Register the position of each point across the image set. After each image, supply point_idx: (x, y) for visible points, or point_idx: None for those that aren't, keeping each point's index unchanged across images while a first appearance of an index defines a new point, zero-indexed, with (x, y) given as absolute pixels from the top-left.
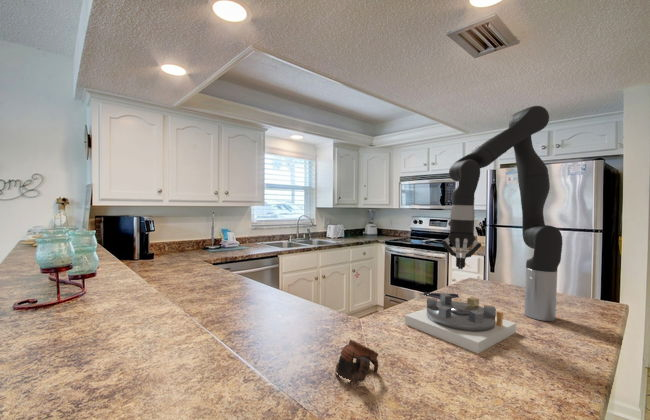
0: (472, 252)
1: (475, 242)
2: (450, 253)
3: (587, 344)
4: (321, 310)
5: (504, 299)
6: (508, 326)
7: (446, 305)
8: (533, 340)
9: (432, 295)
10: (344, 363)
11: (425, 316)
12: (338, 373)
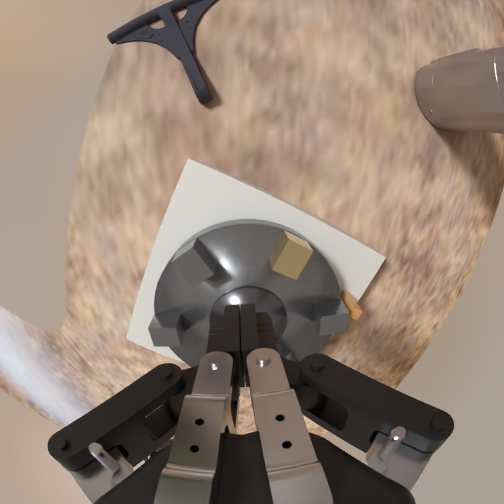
0: (340, 420)
1: (393, 478)
2: (165, 414)
3: (466, 241)
4: (10, 320)
5: None
6: (362, 292)
7: (204, 292)
8: (395, 274)
9: (137, 32)
10: None
11: None
12: (154, 452)
